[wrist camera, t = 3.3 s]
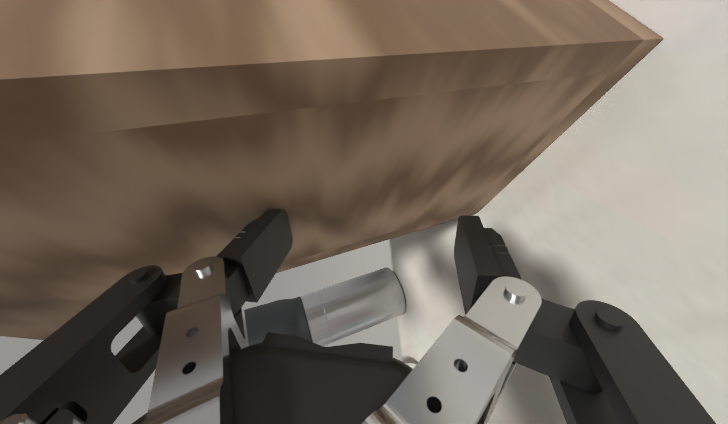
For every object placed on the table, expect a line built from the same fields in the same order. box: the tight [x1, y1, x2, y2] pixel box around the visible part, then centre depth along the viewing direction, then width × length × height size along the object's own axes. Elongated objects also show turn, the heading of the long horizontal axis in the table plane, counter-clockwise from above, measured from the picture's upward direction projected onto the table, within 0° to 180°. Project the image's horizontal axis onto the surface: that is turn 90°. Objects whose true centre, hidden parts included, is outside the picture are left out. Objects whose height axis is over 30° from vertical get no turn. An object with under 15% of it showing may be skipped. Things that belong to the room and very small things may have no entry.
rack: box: [0, 0, 664, 340], centre depth 18 cm, size 16×18×32 cm
